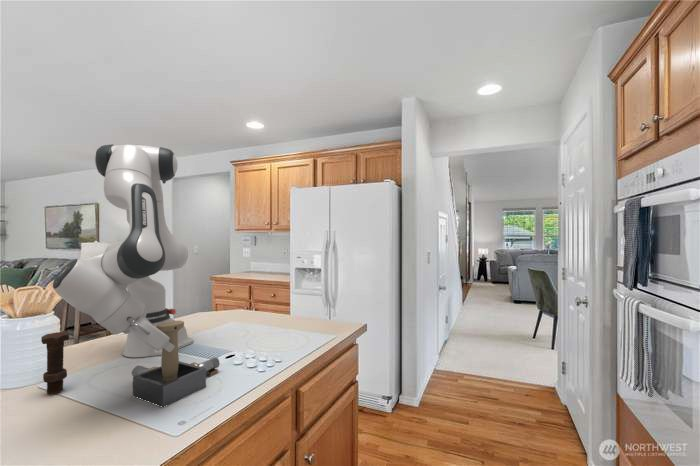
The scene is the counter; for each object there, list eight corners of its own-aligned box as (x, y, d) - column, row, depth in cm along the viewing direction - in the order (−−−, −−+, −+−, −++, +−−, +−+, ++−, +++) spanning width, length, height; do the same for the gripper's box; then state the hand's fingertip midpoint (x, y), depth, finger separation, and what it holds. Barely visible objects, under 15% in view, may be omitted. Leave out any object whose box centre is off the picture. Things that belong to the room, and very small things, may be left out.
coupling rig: (183, 362, 106) (183, 347, 106) (230, 375, 97) (230, 357, 97) (113, 389, 88) (113, 370, 88) (162, 407, 78) (162, 386, 78)
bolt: (50, 399, 83) (51, 338, 83) (34, 397, 84) (35, 337, 84) (74, 388, 88) (74, 331, 88) (59, 386, 89) (59, 330, 89)
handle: (152, 384, 85) (152, 324, 85) (176, 375, 90) (177, 319, 91) (162, 388, 82) (163, 327, 83) (187, 379, 88) (187, 322, 88)
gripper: (145, 311, 74) (191, 345, 80) (127, 298, 89) (168, 328, 95) (120, 335, 71) (171, 369, 77) (106, 318, 86) (150, 347, 92)
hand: (169, 346), depth 86 cm, fingers closed on handle, 3 cm apart
